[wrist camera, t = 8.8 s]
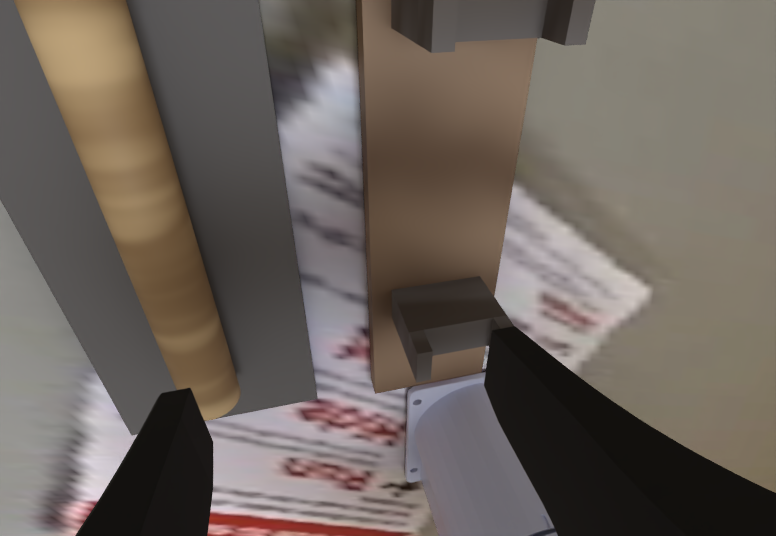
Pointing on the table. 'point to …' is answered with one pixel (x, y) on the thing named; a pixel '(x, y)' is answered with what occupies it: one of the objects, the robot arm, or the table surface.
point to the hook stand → (443, 170)
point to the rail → (135, 183)
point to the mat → (201, 193)
